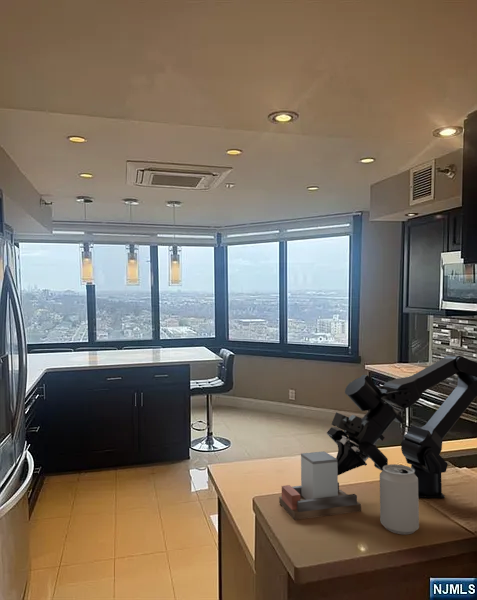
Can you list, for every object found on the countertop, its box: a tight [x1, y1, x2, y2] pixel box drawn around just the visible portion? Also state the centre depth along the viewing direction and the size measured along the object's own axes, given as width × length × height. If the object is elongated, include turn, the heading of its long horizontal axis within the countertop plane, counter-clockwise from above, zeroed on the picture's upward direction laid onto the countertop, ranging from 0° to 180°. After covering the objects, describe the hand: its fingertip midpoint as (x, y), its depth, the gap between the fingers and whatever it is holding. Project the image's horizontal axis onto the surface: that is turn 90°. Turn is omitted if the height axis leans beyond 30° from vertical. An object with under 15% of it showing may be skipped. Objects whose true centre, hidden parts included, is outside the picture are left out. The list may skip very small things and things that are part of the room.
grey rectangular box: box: [300, 451, 339, 500], centre depth 100 cm, size 6×6×10 cm
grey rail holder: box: [278, 482, 362, 521], centre depth 100 cm, size 16×9×4 cm, turn 106°
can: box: [379, 463, 420, 535], centre depth 90 cm, size 8×8×12 cm
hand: (332, 475), depth 101 cm, fingers closed
